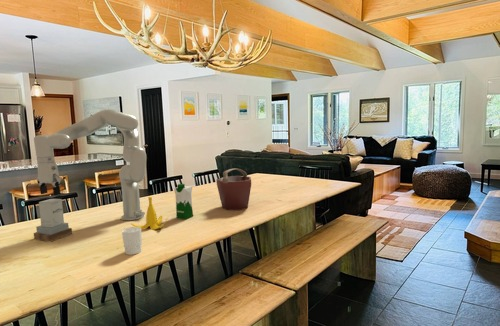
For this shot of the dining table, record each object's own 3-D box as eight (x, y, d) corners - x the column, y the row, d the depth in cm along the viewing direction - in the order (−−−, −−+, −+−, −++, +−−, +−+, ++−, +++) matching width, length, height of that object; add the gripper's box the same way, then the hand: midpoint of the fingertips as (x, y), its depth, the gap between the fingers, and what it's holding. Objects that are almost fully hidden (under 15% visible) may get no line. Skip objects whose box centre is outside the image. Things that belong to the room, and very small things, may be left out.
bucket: (230, 213, 202) (228, 172, 199) (209, 207, 219) (207, 169, 216) (260, 206, 218) (259, 168, 215) (238, 200, 235) (237, 165, 232)
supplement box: (53, 227, 165) (50, 202, 163) (40, 226, 166) (38, 201, 165) (64, 222, 172) (62, 198, 170) (52, 222, 174) (50, 198, 172)
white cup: (126, 249, 149) (124, 227, 148) (144, 248, 150) (143, 226, 149) (121, 256, 141) (119, 233, 140) (140, 254, 142) (138, 232, 141)
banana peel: (162, 221, 192) (160, 192, 190) (164, 231, 173) (162, 199, 171) (132, 224, 187) (129, 195, 185) (130, 235, 169) (127, 202, 167)
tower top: (68, 228, 172) (68, 223, 171) (50, 234, 163) (49, 228, 162) (55, 226, 176) (55, 221, 176) (36, 232, 167) (36, 226, 167)
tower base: (72, 234, 173) (71, 228, 172) (50, 241, 162) (49, 235, 162) (56, 231, 178) (56, 226, 177) (34, 238, 167) (33, 233, 166)
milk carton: (174, 218, 195) (172, 184, 193) (183, 214, 203) (181, 182, 201) (186, 220, 192) (184, 185, 189) (195, 215, 200) (193, 182, 197)
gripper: (64, 159, 165) (69, 193, 167) (41, 159, 172) (46, 191, 175) (50, 161, 158) (55, 196, 161) (27, 161, 165) (32, 195, 168)
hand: (50, 194), depth 168 cm, fingers open, 9 cm apart
